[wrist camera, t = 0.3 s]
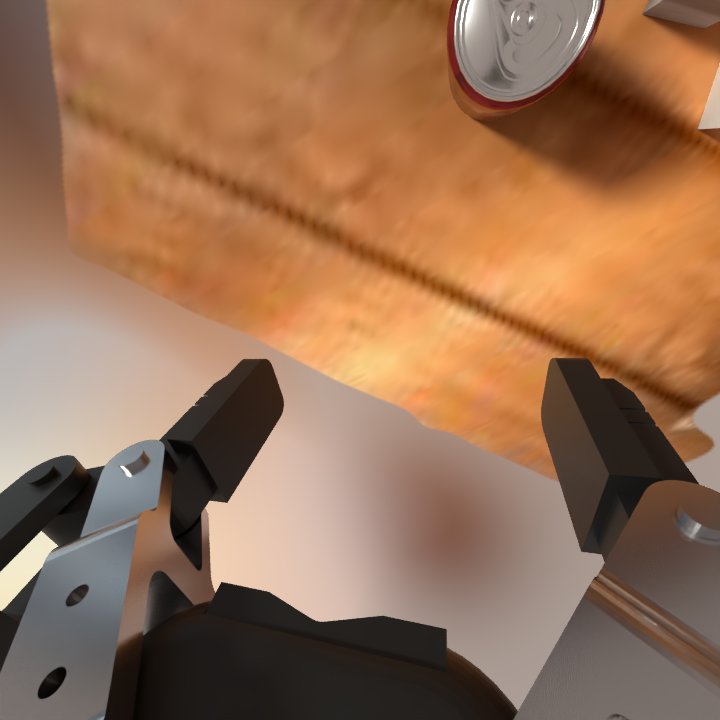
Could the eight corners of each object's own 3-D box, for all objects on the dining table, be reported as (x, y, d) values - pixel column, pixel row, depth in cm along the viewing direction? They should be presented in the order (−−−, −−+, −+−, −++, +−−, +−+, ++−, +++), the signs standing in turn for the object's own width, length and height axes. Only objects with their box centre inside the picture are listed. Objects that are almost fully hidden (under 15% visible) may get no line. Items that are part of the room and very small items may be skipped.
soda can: (564, 76, 25) (634, 33, 16) (473, 142, 29) (484, 141, 19) (526, -34, 23) (581, -165, 13) (432, 53, 26) (420, -1, 17)
